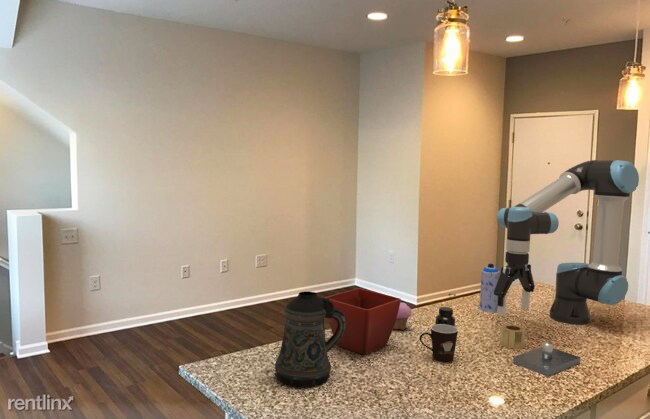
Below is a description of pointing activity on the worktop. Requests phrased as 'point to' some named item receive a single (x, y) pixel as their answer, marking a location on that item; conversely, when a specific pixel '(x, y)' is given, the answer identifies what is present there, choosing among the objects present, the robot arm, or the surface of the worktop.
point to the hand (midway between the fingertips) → (513, 312)
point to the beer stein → (307, 341)
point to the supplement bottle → (445, 316)
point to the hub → (512, 336)
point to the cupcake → (402, 316)
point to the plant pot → (365, 319)
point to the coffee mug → (442, 342)
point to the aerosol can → (489, 289)
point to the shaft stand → (546, 360)
